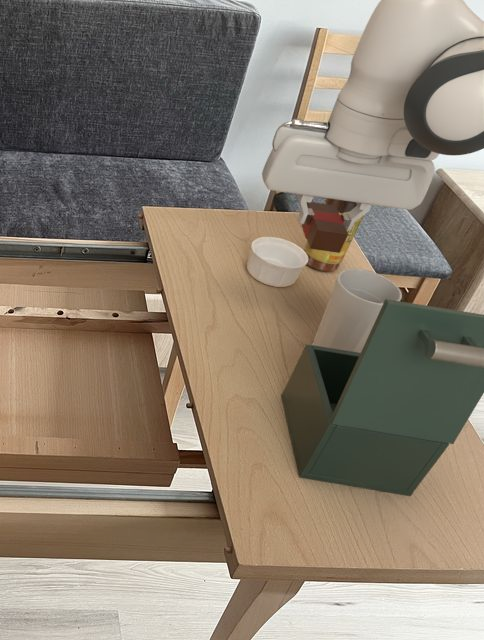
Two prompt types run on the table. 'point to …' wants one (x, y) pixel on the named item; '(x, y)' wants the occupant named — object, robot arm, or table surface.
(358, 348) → the cup
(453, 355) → the bin lid
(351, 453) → the trash can
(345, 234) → the chocolate bar
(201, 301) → the table surface
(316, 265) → the sauce bottle
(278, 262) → the ramekin
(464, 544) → the table surface
